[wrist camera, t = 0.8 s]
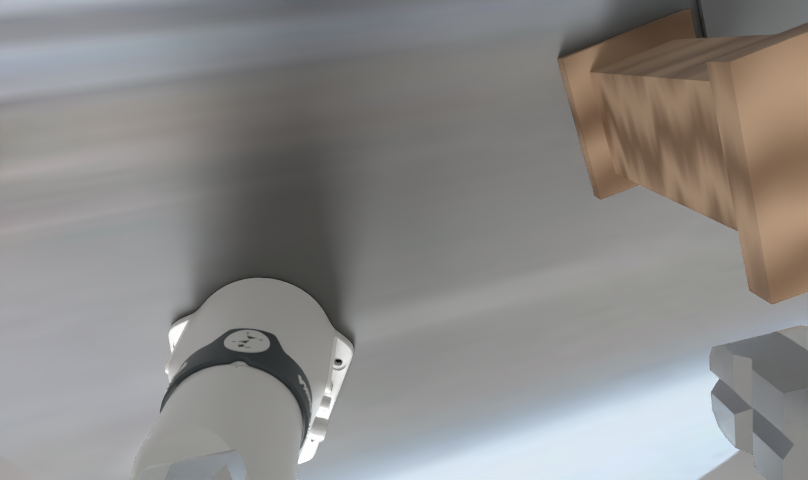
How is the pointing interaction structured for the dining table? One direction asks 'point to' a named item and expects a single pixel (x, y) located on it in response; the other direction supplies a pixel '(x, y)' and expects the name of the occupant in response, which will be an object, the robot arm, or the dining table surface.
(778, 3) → the mat
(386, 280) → the dining table surface
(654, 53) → the walnut stand
